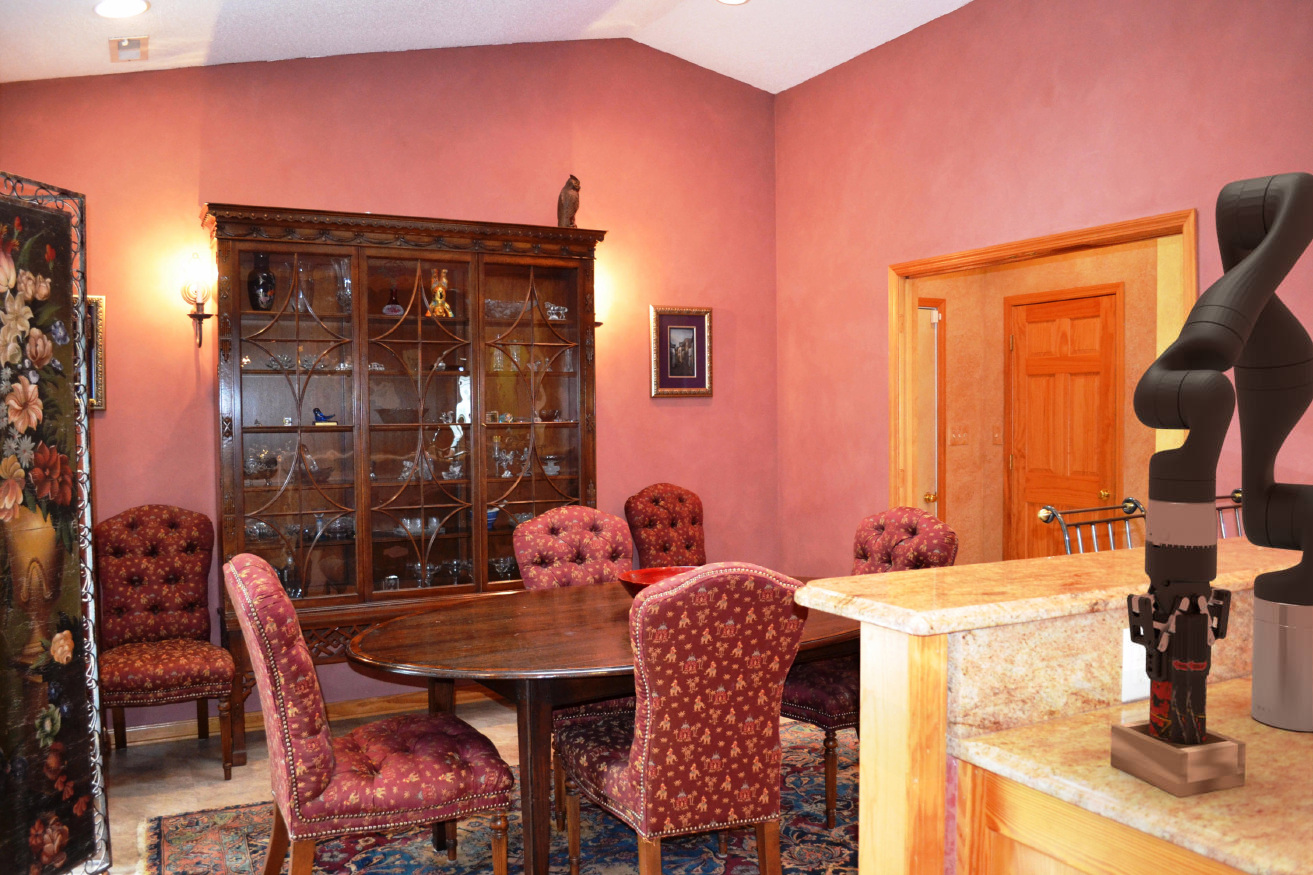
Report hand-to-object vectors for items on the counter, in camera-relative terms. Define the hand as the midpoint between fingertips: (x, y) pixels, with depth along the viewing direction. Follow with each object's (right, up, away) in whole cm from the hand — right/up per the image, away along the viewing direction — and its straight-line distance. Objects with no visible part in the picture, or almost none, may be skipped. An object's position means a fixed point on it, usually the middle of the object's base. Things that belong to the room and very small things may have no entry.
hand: (1178, 676), depth 113 cm
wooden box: (0, -12, 0) cm, 12 cm away
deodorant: (0, -7, 0) cm, 7 cm away
